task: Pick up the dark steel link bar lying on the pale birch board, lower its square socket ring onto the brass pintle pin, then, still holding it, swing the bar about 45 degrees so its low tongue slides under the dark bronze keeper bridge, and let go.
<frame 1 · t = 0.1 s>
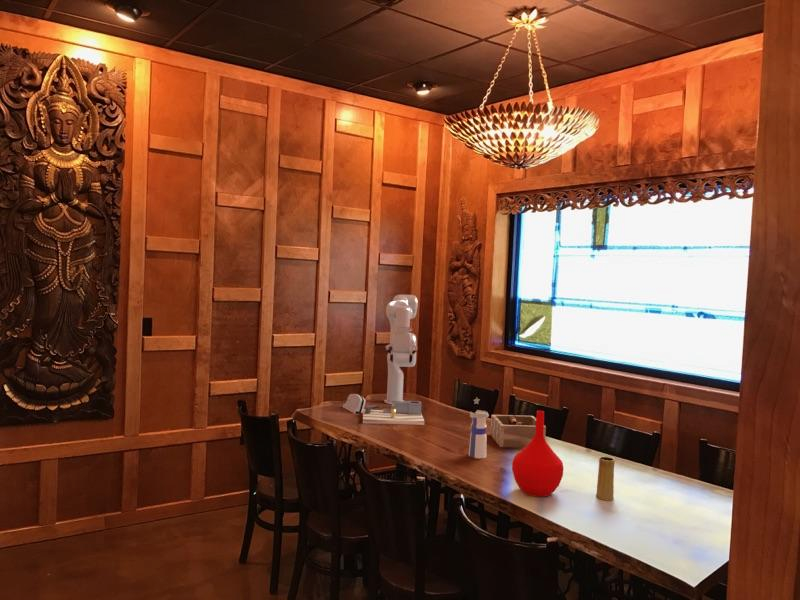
hand: (401, 362, 327), 31 cm above the table, fingers open, 9 cm apart
vase 2: (536, 492, 225), on the table
vase: (604, 498, 223), on the table
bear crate: (516, 441, 296), on the table
keeper: (371, 415, 336), resting on board
board: (392, 418, 331), on the table
pintle: (393, 420, 326), resting on board
bear figurine: (517, 442, 296), resting in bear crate
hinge: (354, 410, 349), on the table
link: (399, 412, 337), point 2 cm above the table, touching board
water bottle: (476, 456, 268), on the table
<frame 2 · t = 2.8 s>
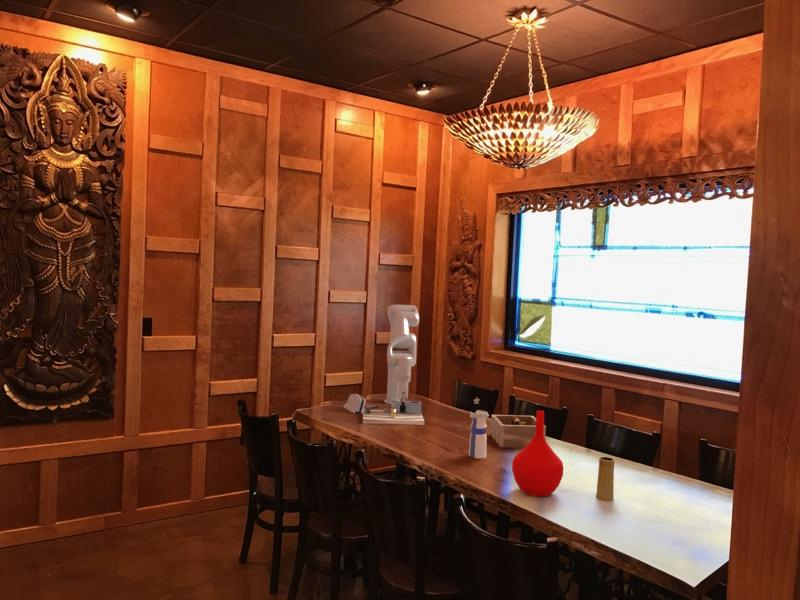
hand: (402, 411, 337), 3 cm above the table, fingers closed on link, 4 cm apart
bear figurine: (520, 442, 296), resting in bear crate
link: (399, 412, 337), point 2 cm above the table, touching board, gripper
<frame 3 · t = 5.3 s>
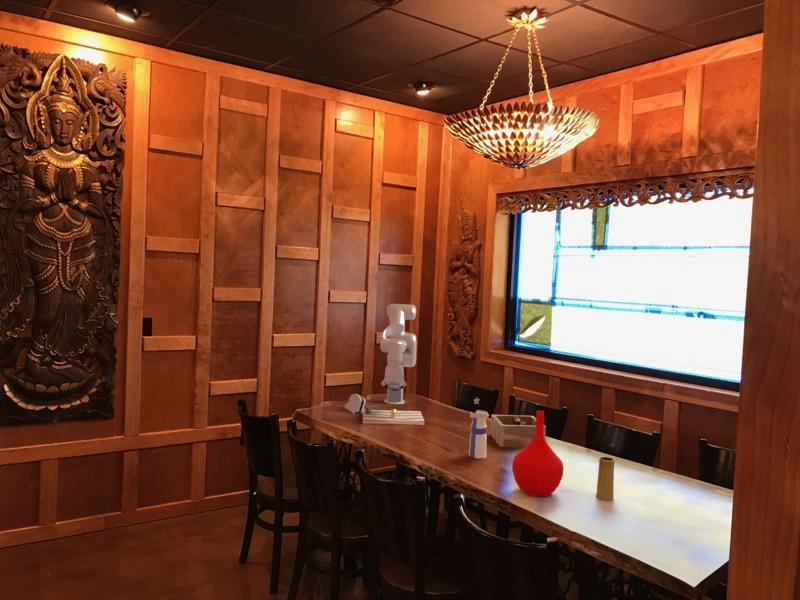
hand: (393, 397, 332), 11 cm above the table, fingers closed on link, 4 cm apart
link: (393, 398, 334), point 11 cm above the table, touching gripper
when the fingers open (3 cm above the table, at t = 8.0 s): link stays where it is, resting on board.
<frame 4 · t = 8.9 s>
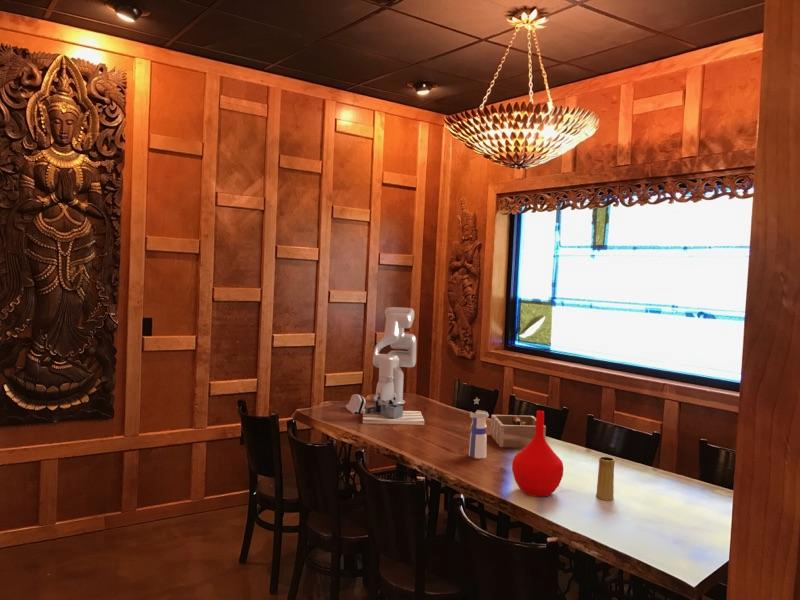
hand: (384, 411, 331), 4 cm above the table, fingers open, 9 cm apart
link: (382, 414, 332), point 2 cm above the table, touching board
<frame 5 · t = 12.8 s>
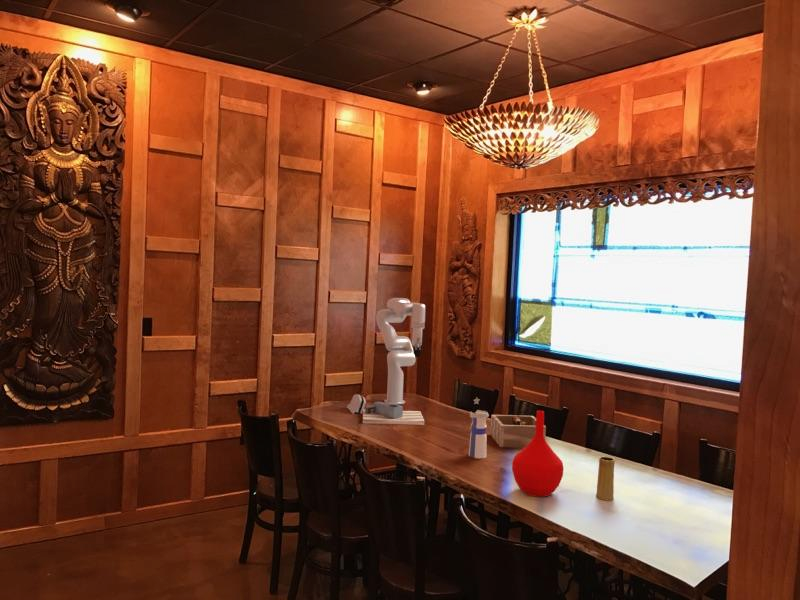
hand: (416, 355, 348), 32 cm above the table, fingers open, 9 cm apart
at the end: link 0.1 cm from the target spot, point 2.0 cm above the table; link touching board; the gripper is holding nothing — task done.
